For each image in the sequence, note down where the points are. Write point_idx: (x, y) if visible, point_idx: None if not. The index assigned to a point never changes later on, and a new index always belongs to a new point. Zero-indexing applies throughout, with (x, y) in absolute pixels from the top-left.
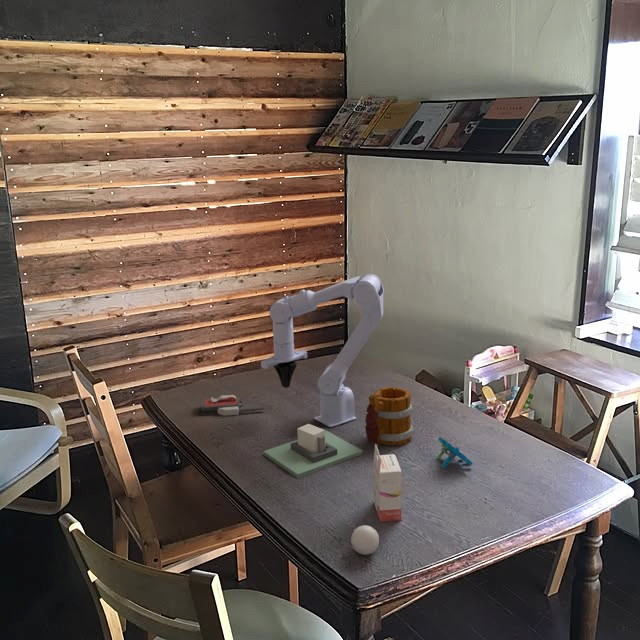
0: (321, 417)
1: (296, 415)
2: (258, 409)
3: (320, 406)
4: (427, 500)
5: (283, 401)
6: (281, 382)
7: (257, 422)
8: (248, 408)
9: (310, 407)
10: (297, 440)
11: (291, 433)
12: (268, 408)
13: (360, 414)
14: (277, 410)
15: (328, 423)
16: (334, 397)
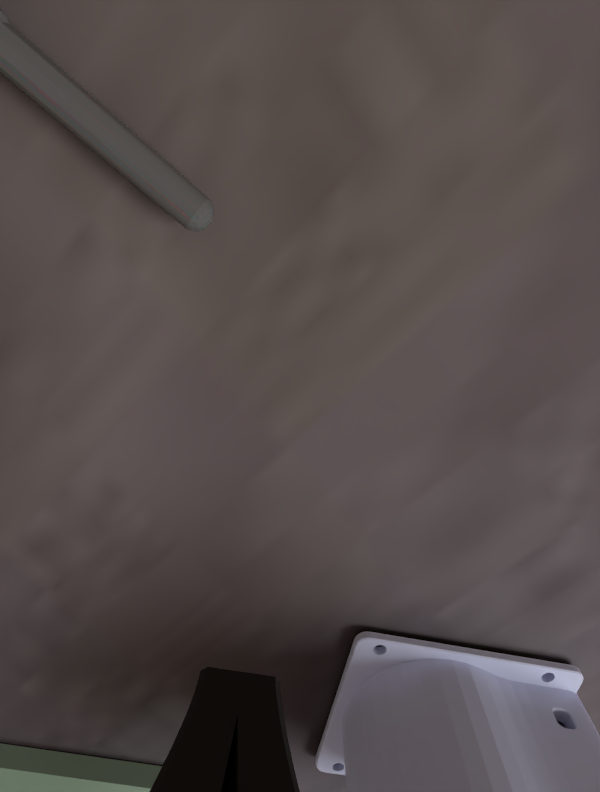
0: (353, 716)
1: (334, 494)
2: (137, 187)
3: (373, 789)
4: None
5: (527, 170)
6: (183, 729)
7: (9, 349)
8: (41, 92)
9: (531, 473)
10: (17, 776)
11: (92, 652)
12: (291, 182)
13: None
14: (312, 296)
15: (341, 744)
16: None
